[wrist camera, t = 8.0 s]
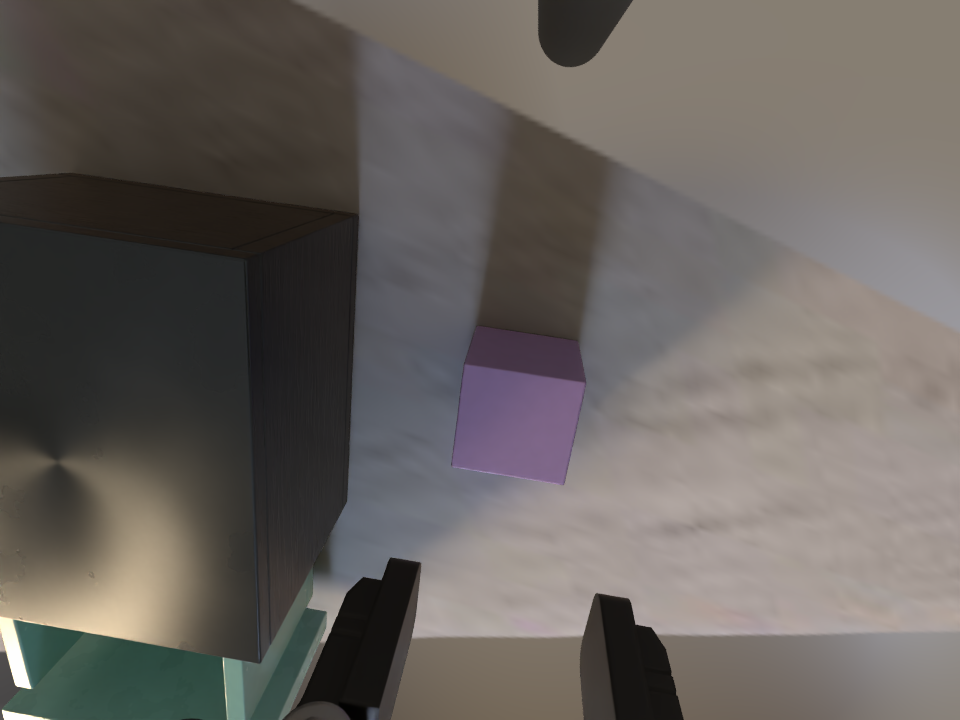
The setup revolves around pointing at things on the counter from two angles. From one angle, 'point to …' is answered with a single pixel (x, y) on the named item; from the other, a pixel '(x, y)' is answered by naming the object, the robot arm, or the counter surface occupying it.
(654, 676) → the robot arm
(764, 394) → the counter surface
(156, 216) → the drawer cabinet
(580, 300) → the counter surface
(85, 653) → the drawer
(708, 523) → the counter surface
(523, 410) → the purple cube
